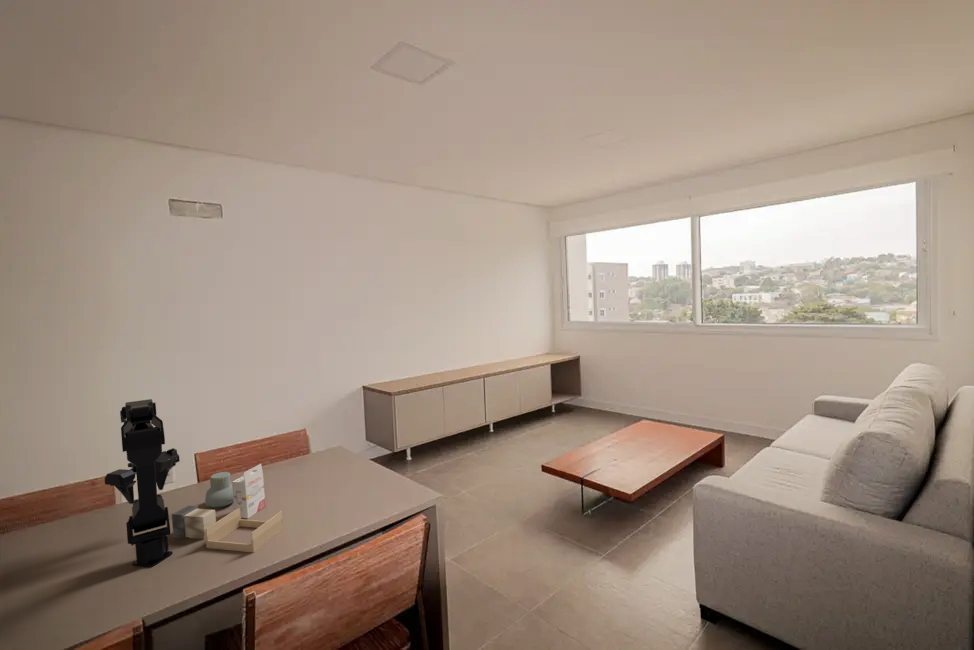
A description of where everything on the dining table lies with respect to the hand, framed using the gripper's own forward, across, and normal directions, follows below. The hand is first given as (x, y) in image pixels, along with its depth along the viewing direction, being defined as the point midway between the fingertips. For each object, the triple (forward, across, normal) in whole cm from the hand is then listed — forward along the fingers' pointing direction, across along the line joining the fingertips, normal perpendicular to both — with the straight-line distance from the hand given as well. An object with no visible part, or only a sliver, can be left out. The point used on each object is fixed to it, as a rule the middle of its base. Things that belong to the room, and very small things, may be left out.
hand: (146, 496), depth 134 cm
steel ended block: (+12, +3, -13) cm, 18 cm away
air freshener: (+12, +22, -5) cm, 26 cm away
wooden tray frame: (+12, +4, -30) cm, 32 cm away
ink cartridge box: (+12, +18, -19) cm, 29 cm away
